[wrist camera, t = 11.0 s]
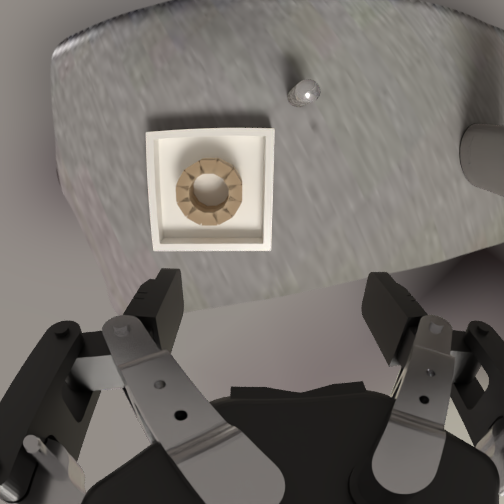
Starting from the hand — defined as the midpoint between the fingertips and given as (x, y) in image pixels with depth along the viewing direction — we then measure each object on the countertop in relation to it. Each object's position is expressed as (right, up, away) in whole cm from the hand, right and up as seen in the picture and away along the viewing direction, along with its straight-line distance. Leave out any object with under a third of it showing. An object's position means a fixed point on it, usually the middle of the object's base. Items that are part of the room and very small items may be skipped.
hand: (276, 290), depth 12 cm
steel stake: (+4, +18, +15) cm, 24 cm away
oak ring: (-5, +8, +18) cm, 21 cm away
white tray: (-5, +8, +19) cm, 21 cm away
